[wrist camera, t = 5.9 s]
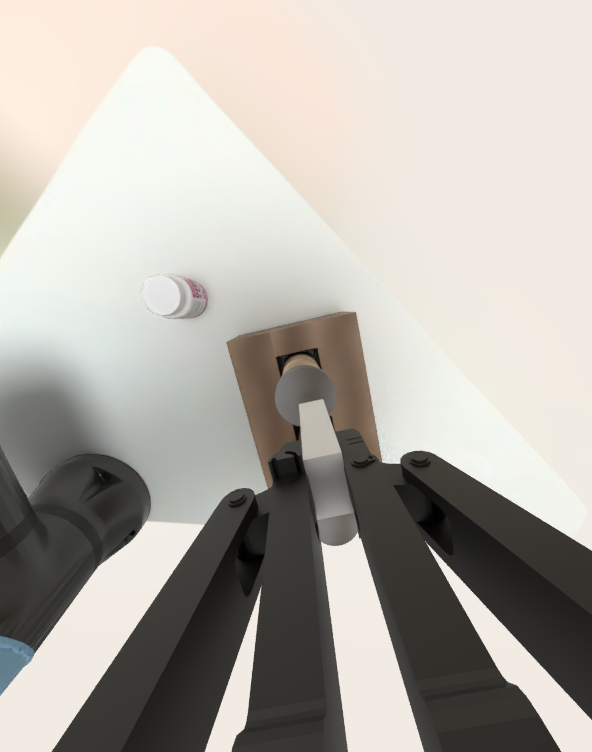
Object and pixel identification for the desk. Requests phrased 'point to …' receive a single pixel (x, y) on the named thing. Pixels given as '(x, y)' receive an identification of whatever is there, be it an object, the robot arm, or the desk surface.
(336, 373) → the socket board
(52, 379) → the desk surface
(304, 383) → the plug
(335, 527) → the plug
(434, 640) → the robot arm
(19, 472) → the desk surface
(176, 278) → the pill bottle
